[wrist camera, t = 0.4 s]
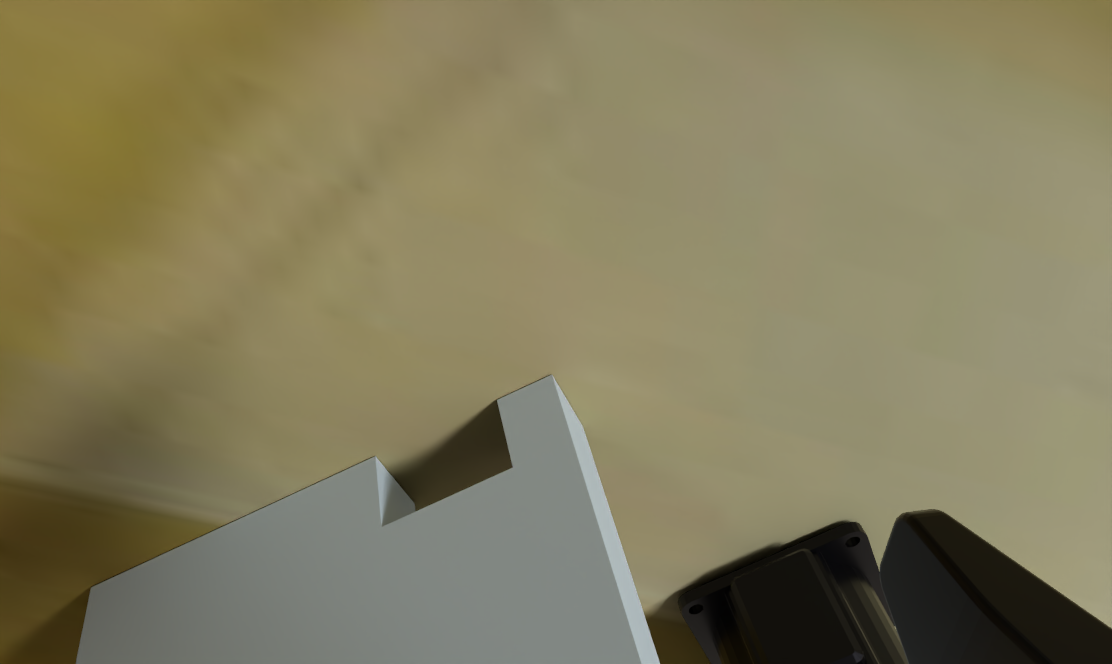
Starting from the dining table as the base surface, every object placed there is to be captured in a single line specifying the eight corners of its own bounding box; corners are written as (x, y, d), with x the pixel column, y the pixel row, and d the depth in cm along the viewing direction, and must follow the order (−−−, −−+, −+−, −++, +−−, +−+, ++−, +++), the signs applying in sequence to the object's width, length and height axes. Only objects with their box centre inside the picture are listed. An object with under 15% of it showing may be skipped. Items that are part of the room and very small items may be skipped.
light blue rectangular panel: (551, 374, 26) (644, 674, 19) (582, 426, 27) (680, 724, 20) (90, 587, 27) (20, 940, 20) (142, 627, 29) (92, 970, 22)
